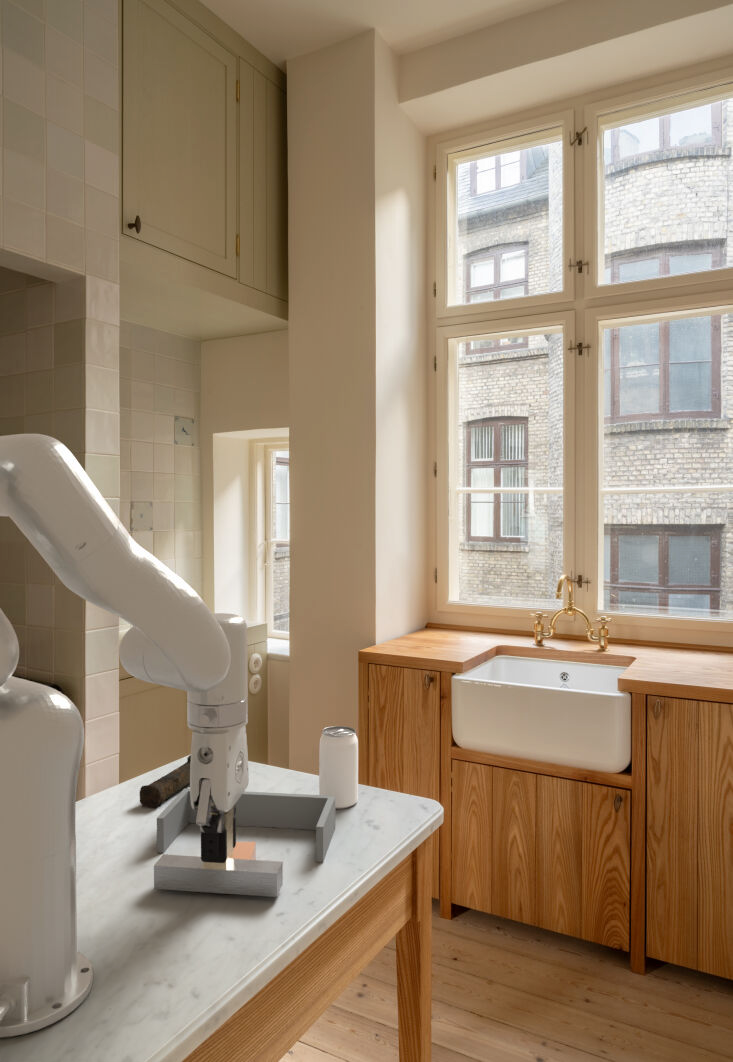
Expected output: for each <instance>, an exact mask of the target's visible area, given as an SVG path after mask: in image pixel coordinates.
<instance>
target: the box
mask: <svg viewBox="0 0 733 1062" xmlns="http://www.w3.org/2000/svg"><path fill="white" fill-rule="evenodd" d="M181 790H182V791H180V792H179V794H178V795H176V796H175V798H174V799H173V800H172V801H170V803H169V804H168V805H167V806H166V807H165V808H164V810H163V811H162V812H160V814H159V815H158V816H157V817H156V853H158V852H160V853H161V854H164V853H165V852H167V849H168V848H169V847H170V846H171V845H172V844H173V842H174V841H175V840H176V839H177V837H178V836H179V835H180V834H181V832H182V831H183V830H184V829H185V828H186V826H188V824H196V819H197V812H198V810H194V809H193V808H192V807H191V801H190V788H185V787H183V788H182V789H181ZM211 804H213V803H211ZM233 817H236V827H237V826H238V827H240V826H241V827H254V826H255V828H256V827H259V828H272V827H277V828H278V829H293V830H295V829H296V830H310V831H311V830H313V831H315V862H316V863H324V862H325V859H326V856H327V853H328V850H329V847H330V844H331V841H332V838H333V836H334V833H335V830H336V809H335V796H326V795H319V794H304V793H303V794H302V793H285V792H284V793H281V792H280V793H279V792H267V791H265V792H264V791H263V792H262V791H246V790H245V791H244V792H243V794H242V795H241V797H240V798H239V800H238V801H237V802H236V814H235V816H233ZM277 828H276V829H277ZM160 853H158V854H160Z"/></svg>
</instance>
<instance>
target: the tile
mask: <svg viewBox="0 0 733 1062" xmlns="http://www.w3.org/2000/svg"><path fill="white" fill-rule="evenodd" d="M256 844H257V843H256V841H236V846H235V847H234V849H233V859H246V860H257V858H256V856H257V854H256V853H257V852H256V850H257V847H256Z"/></svg>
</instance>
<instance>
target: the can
mask: <svg viewBox="0 0 733 1062" xmlns="http://www.w3.org/2000/svg"><path fill="white" fill-rule="evenodd" d="M356 732H357V730H356V729H355V728H354V727H349V726H347V725H346V726H345V725H344V726H343V725H334V726H328V727H325V728H323V729H322V730H321V733H322V734H321V736H320V739H319V752H318V753H319V755H318V757H319V758H318V759H319V762H318V764H319V765H318V767H319V769H318V772H319V773H318V777H319V778H318V780H319V781H318V785H319V786H318V789H319V790H318V792H319V793H318V795H326V796H335V810H344V809H349V808H351V807H353V806H355V805H356V804H357V802H358V801H359V739H358V736H357V735H356Z"/></svg>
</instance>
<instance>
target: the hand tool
mask: <svg viewBox="0 0 733 1062" xmlns="http://www.w3.org/2000/svg"><path fill="white" fill-rule="evenodd" d="M190 763H191V754H190V755H189V756H188V757H187V760H186V762H184V763H183V764H182V765H180V766H178V767H177V768H175V769H174V770H172V771H170V772H168V773H167V774H166V775H164V776H161V777H160V778H158V779H157V780H154V781H153V782H151V783H149V784H147V785H146V784H145V785H141V787H140V789H139V802H140V804H141V806H142V807H144V808H149V809H156V808H159V806H160V805H162V804H164V802H165V800H166V799H168V798H169V797H171V796H172V795H175V793H177V792H179V791H180V790H183V789H184V788H185V787H186V786H188V785H190Z"/></svg>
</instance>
